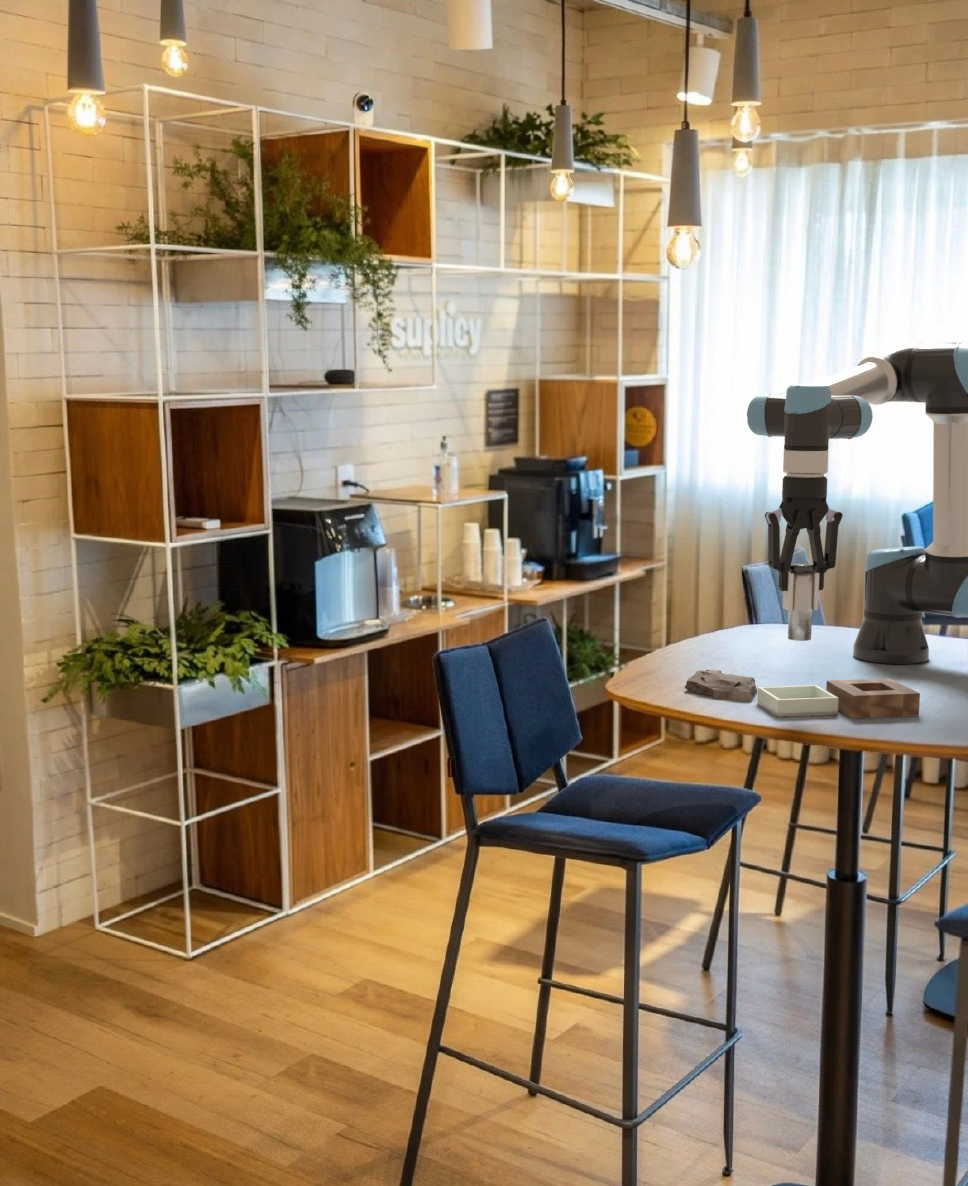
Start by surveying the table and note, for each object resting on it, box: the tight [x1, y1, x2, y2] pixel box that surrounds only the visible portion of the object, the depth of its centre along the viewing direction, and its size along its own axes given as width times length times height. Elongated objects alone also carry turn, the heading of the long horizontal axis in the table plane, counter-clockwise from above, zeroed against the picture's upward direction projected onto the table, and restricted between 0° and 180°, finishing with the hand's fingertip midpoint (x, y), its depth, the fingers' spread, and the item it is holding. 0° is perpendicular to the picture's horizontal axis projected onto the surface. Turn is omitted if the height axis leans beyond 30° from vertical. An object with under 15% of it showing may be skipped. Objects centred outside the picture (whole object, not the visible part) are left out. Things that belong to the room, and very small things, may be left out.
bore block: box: [825, 678, 921, 719], centre depth 243 cm, size 12×12×4 cm
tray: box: [756, 684, 839, 718], centre depth 243 cm, size 11×10×3 cm
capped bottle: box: [787, 563, 815, 642], centre depth 240 cm, size 4×4×13 cm
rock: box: [684, 669, 758, 703], centre depth 255 cm, size 14×9×4 cm
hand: (800, 608), depth 240 cm, fingers closed on capped bottle, 4 cm apart
